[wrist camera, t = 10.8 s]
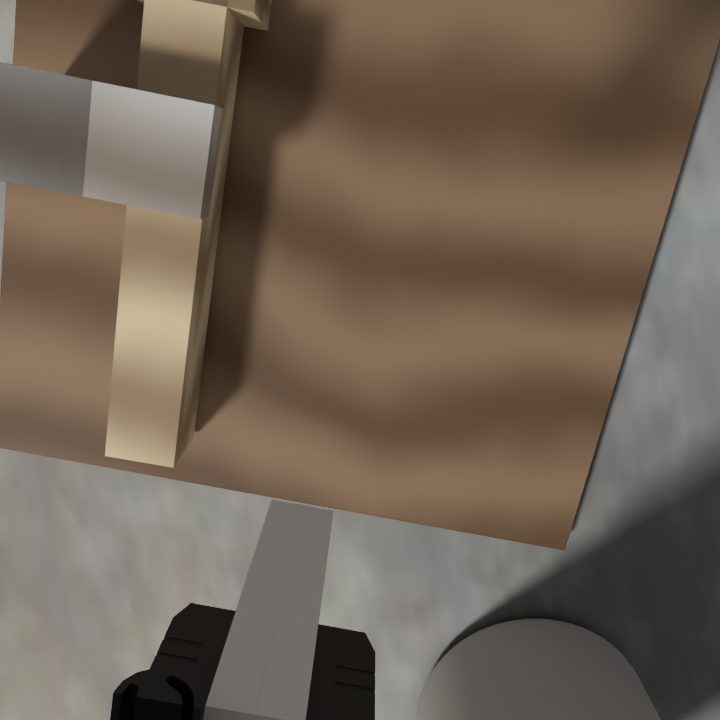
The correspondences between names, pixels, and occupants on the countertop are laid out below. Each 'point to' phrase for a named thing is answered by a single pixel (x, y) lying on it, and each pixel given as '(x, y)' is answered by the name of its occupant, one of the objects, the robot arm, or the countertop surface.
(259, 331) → the base
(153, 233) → the light wooden beam
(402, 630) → the countertop surface
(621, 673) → the cylinder vase
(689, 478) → the countertop surface
